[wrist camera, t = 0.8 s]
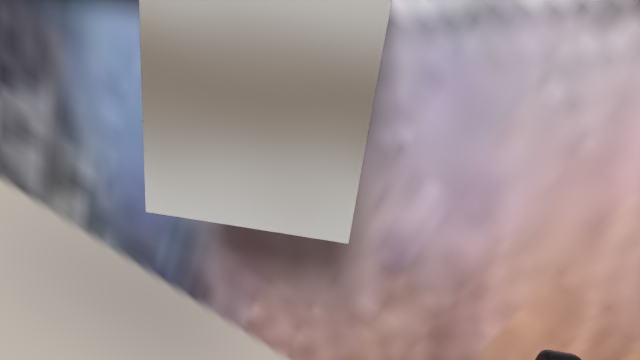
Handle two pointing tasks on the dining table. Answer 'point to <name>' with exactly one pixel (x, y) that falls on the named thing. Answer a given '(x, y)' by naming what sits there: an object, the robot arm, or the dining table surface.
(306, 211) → the housing
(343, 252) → the dining table surface
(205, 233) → the dining table surface
